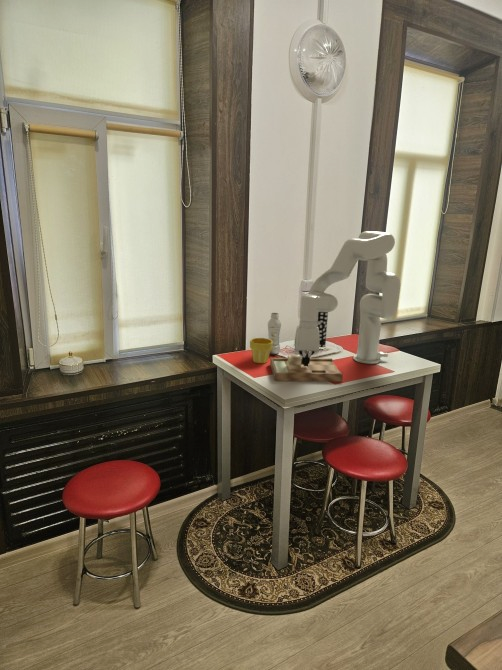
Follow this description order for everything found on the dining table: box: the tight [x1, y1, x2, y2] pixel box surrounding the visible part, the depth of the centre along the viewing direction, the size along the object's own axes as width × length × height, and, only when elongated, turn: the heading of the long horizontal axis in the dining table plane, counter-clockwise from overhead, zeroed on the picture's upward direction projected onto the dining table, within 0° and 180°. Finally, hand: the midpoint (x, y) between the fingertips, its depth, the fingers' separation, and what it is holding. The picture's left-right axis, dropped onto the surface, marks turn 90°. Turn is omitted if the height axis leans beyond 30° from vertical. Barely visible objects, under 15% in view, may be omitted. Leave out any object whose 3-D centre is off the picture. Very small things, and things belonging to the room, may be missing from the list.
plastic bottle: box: [267, 312, 282, 355], centre depth 211 cm, size 6×7×20 cm
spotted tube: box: [318, 312, 329, 348], centre depth 223 cm, size 8×8×20 cm
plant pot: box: [249, 337, 273, 364], centre depth 201 cm, size 10×10×10 cm
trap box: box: [269, 357, 344, 382], centre depth 189 cm, size 28×19×3 cm
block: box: [287, 354, 302, 370], centre depth 187 cm, size 5×5×5 cm
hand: (305, 365), depth 188 cm, fingers closed
